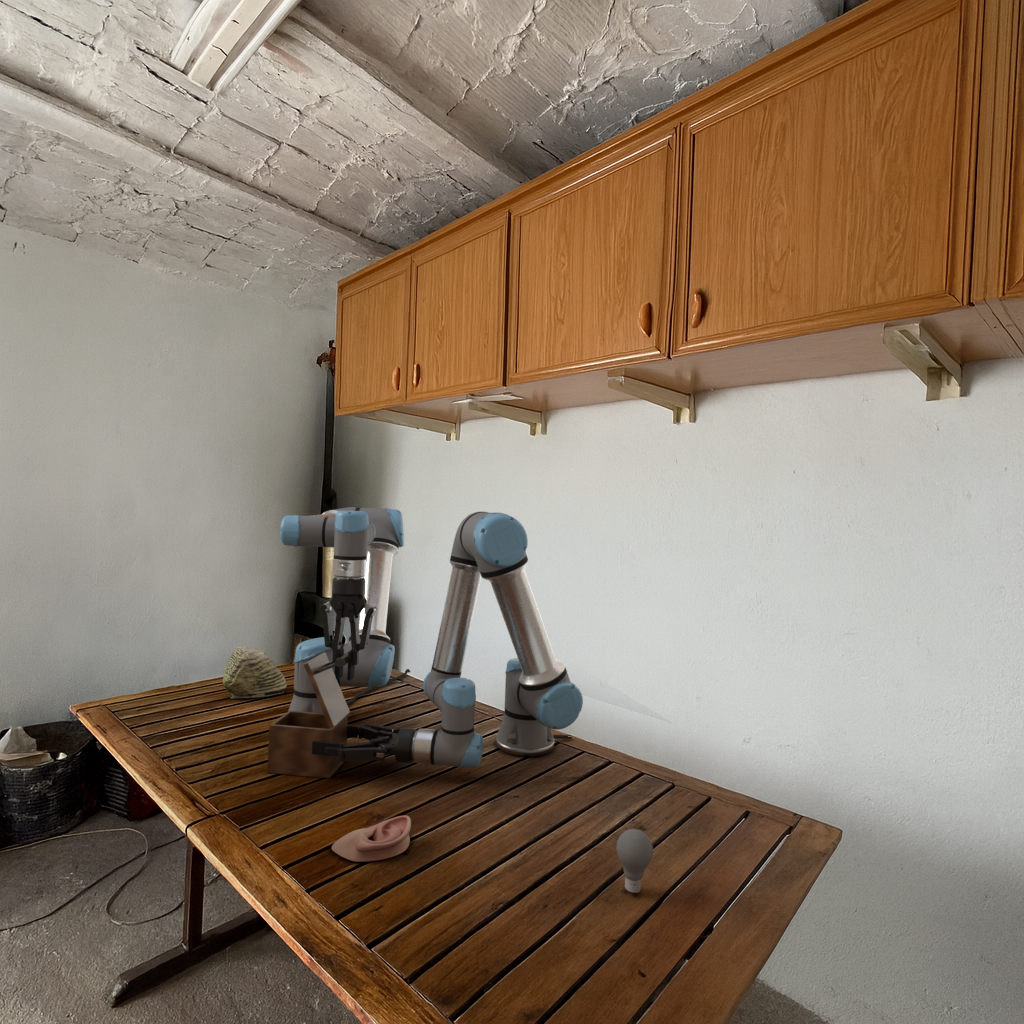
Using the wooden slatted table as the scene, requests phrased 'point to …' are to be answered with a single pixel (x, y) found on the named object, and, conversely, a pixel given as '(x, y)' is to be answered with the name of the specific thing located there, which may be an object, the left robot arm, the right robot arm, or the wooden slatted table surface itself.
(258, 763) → the wooden slatted table surface
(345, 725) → the chest
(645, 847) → the light bulb
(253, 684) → the fossil
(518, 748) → the right robot arm
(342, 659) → the lid
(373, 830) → the anatomical model
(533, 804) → the wooden slatted table surface
